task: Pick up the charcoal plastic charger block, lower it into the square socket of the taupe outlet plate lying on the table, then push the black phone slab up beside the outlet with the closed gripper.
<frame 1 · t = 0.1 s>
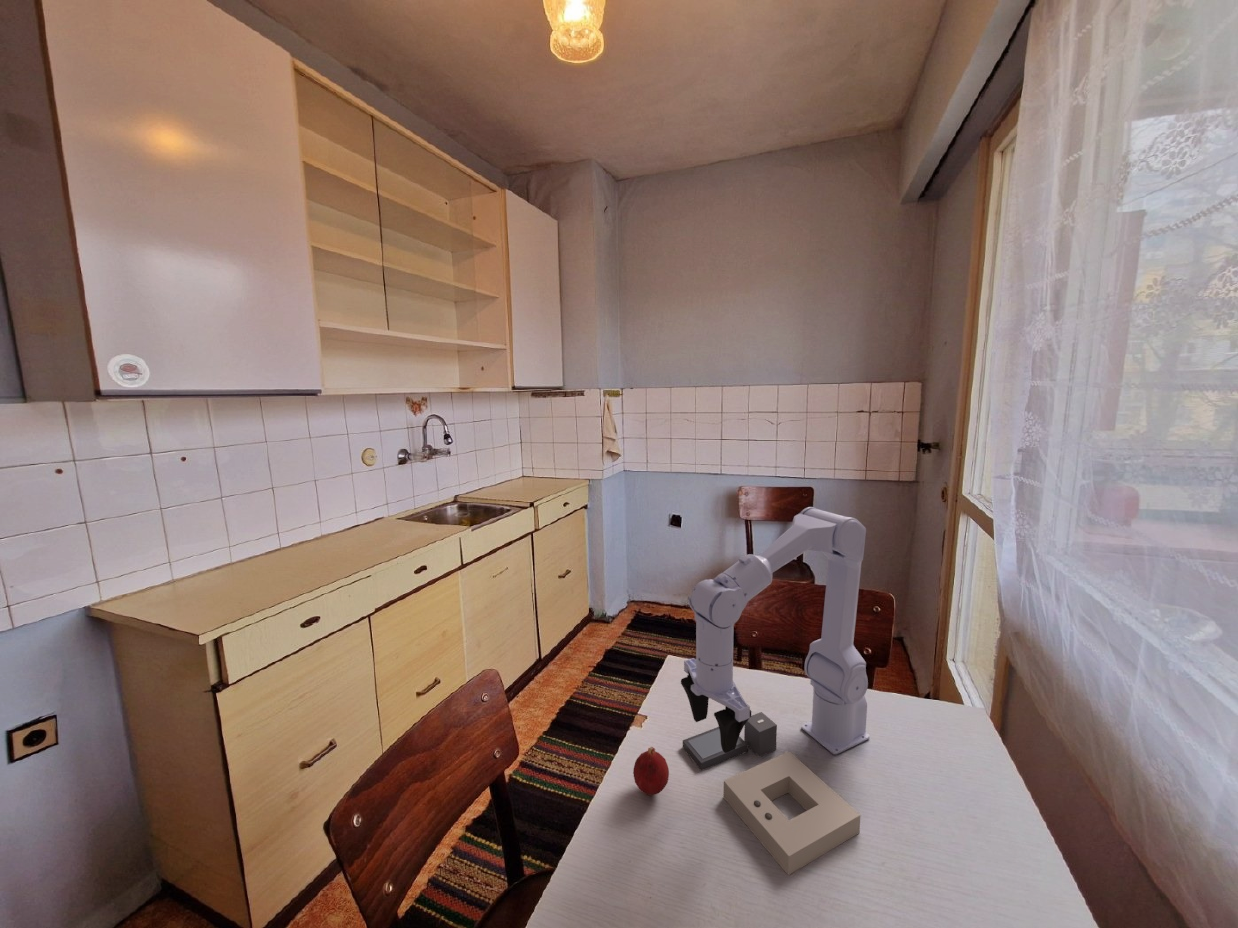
hand: (713, 733, 77), 10 cm above the table, fingers open, 7 cm apart
phone: (714, 751, 87), on the table
charger: (760, 745, 87), on the table
onion: (651, 793, 78), on the table
outlet plate: (788, 813, 73), on the table
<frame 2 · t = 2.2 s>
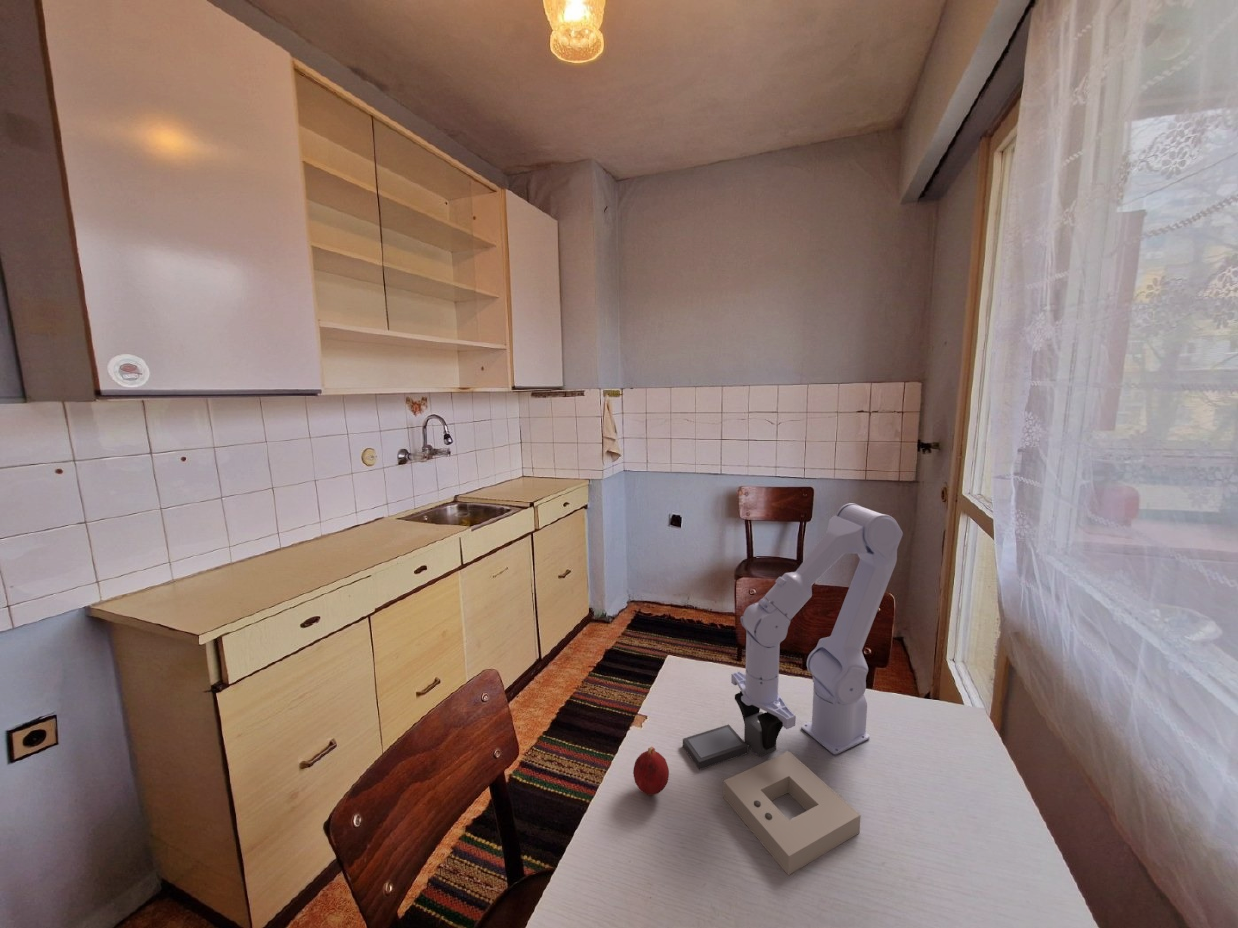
hand: (760, 738, 87), 1 cm above the table, fingers closed on charger, 4 cm apart
charger: (759, 745, 87), on the table, touching gripper
everything else where it was.
when the fingers open (5 cm above the table, at t = 5.0 s): charger drops 3 cm, resting in outlet plate.
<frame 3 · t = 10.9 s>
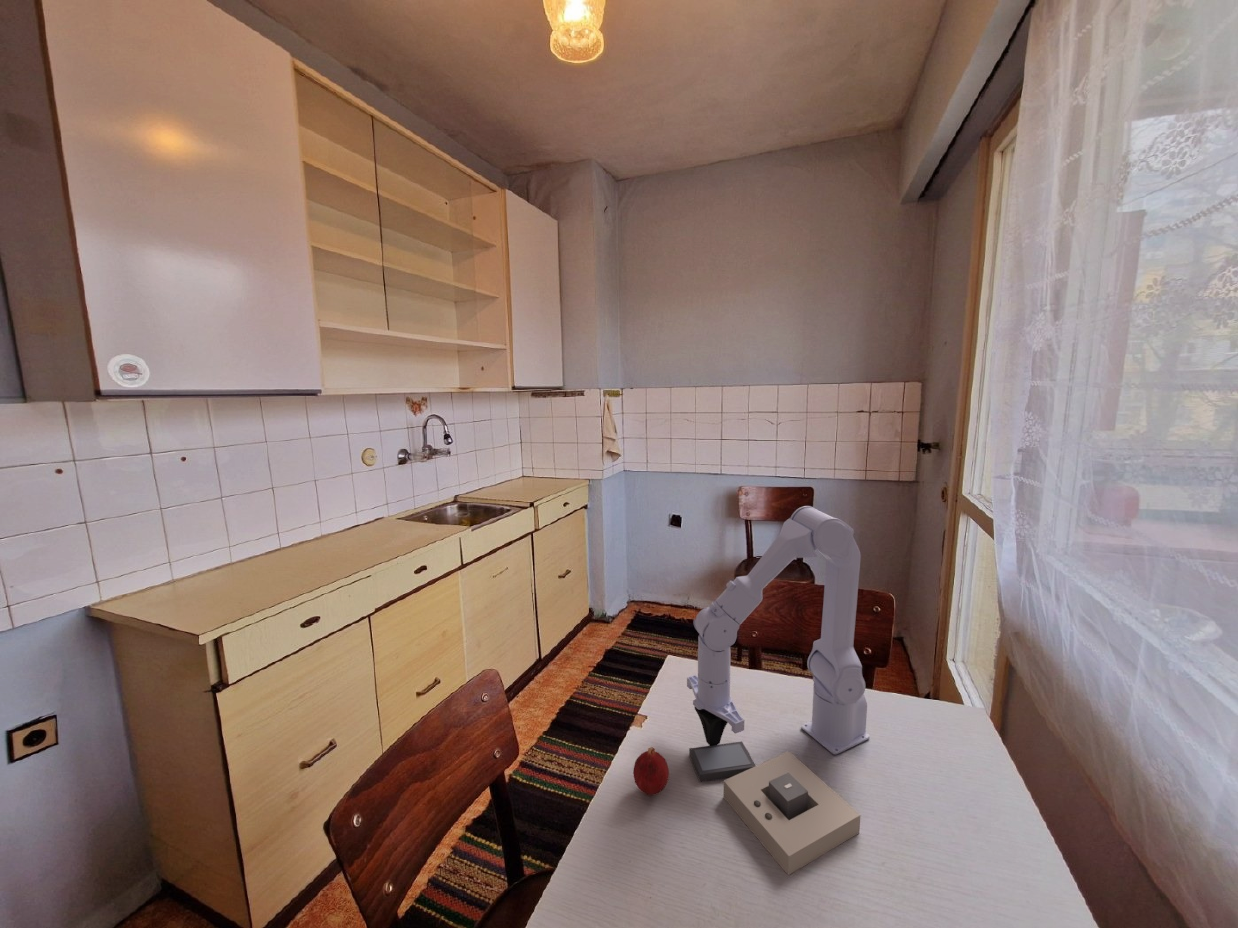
hand: (713, 742, 87), 1 cm above the table, fingers closed
phone: (721, 767, 83), on the table
charger: (787, 814, 73), resting in outlet plate
everything else where it was.
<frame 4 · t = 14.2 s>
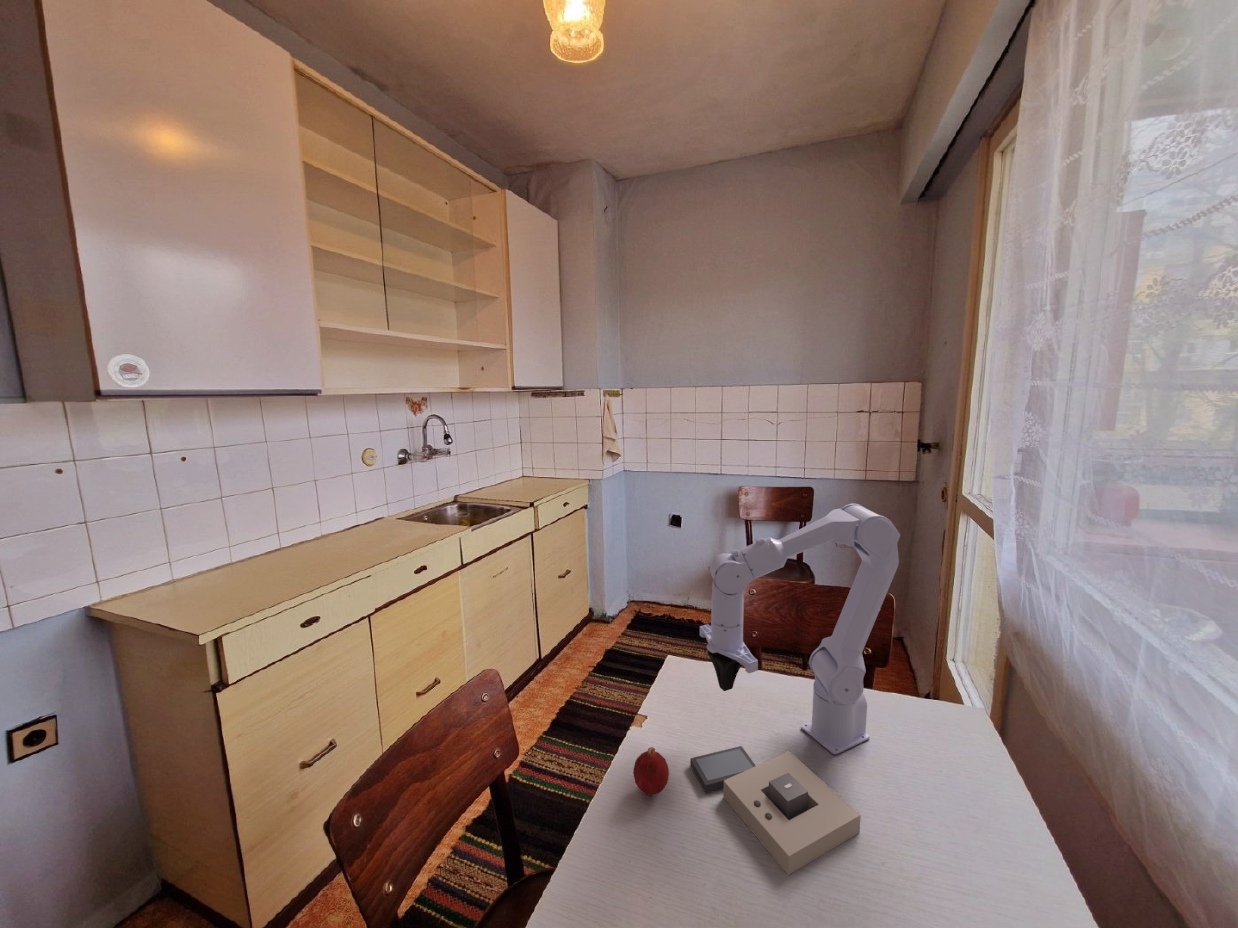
hand: (726, 687, 89), 10 cm above the table, fingers closed
phone: (724, 774, 82), on the table
everything else where it was.
at the end: charger 0.2 cm off-centre on the outlet plate, point 0.0 cm above the outlet plate's base; charger tilted 0°; phone moved 5.3 cm from its start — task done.
